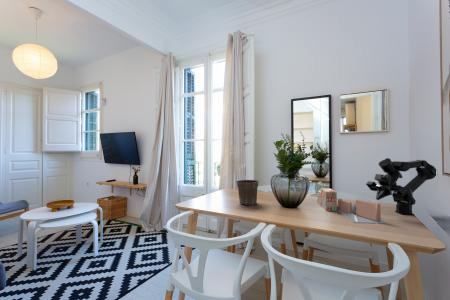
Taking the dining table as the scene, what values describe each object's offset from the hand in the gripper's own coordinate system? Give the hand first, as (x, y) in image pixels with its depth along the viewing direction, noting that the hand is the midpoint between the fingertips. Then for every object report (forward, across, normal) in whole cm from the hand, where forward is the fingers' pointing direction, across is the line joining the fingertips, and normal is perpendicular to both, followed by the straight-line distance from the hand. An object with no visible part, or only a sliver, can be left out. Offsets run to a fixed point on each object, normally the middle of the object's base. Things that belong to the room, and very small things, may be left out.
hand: (377, 199), depth 121 cm
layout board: (+12, -6, +2) cm, 14 cm away
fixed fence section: (+12, -14, +2) cm, 19 cm away
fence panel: (+12, -1, +2) cm, 12 cm away
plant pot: (+46, -55, -31) cm, 78 cm away
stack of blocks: (+14, -28, +1) cm, 31 cm away
